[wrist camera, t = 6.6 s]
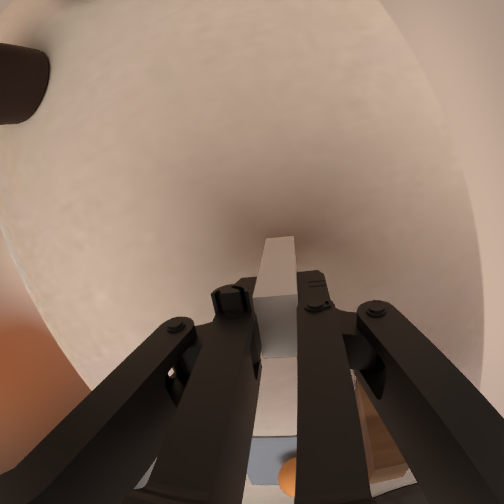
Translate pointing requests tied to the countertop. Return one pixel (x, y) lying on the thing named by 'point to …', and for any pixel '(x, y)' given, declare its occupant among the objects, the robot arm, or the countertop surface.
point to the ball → (288, 477)
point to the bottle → (21, 82)
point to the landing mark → (269, 458)
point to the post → (378, 442)
